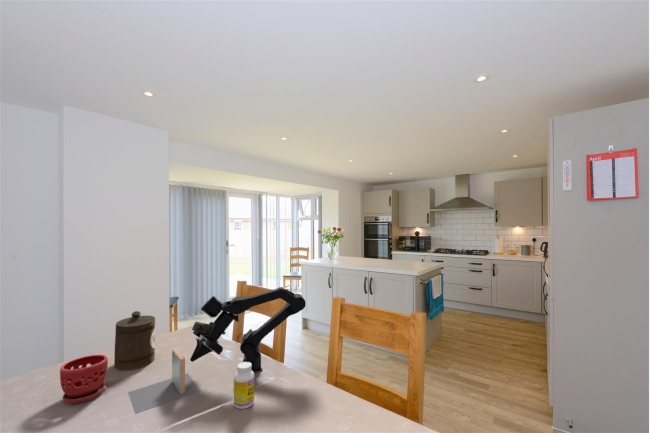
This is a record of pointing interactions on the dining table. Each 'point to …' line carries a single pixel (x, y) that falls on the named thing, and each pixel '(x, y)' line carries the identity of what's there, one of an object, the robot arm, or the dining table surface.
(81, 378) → the plant pot
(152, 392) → the mat
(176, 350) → the tile
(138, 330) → the wooden container
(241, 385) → the supplement bottle
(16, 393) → the dining table surface
